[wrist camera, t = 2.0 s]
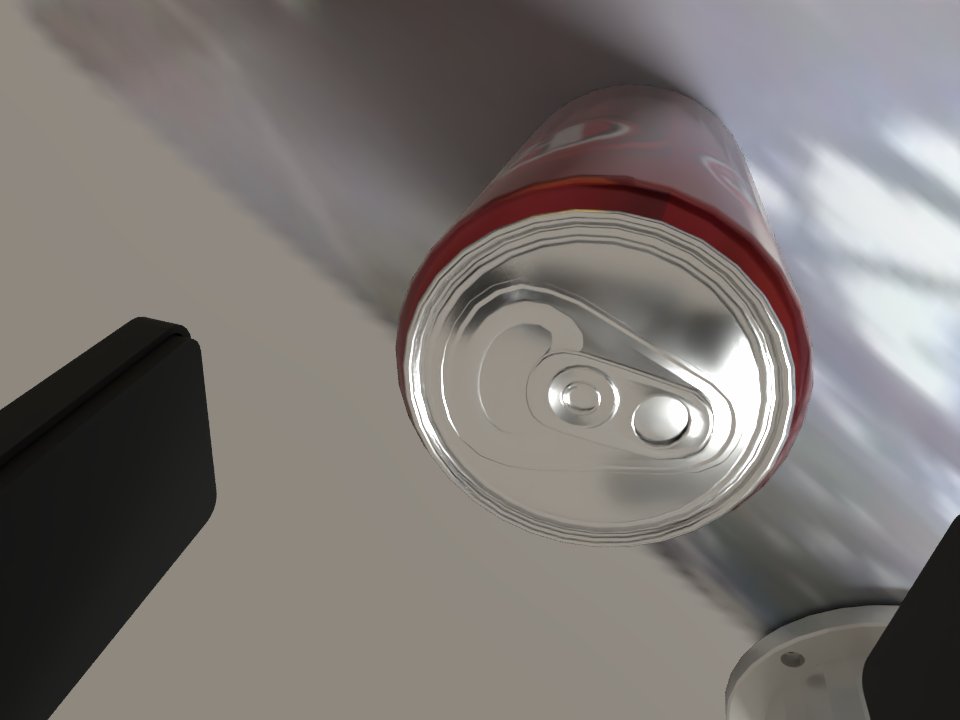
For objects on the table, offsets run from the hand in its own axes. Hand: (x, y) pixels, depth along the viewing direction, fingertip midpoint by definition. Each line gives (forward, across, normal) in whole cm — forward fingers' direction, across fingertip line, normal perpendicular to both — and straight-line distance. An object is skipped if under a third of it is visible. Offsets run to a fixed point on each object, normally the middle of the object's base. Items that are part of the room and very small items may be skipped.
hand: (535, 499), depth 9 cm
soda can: (+16, -1, +1) cm, 16 cm away
